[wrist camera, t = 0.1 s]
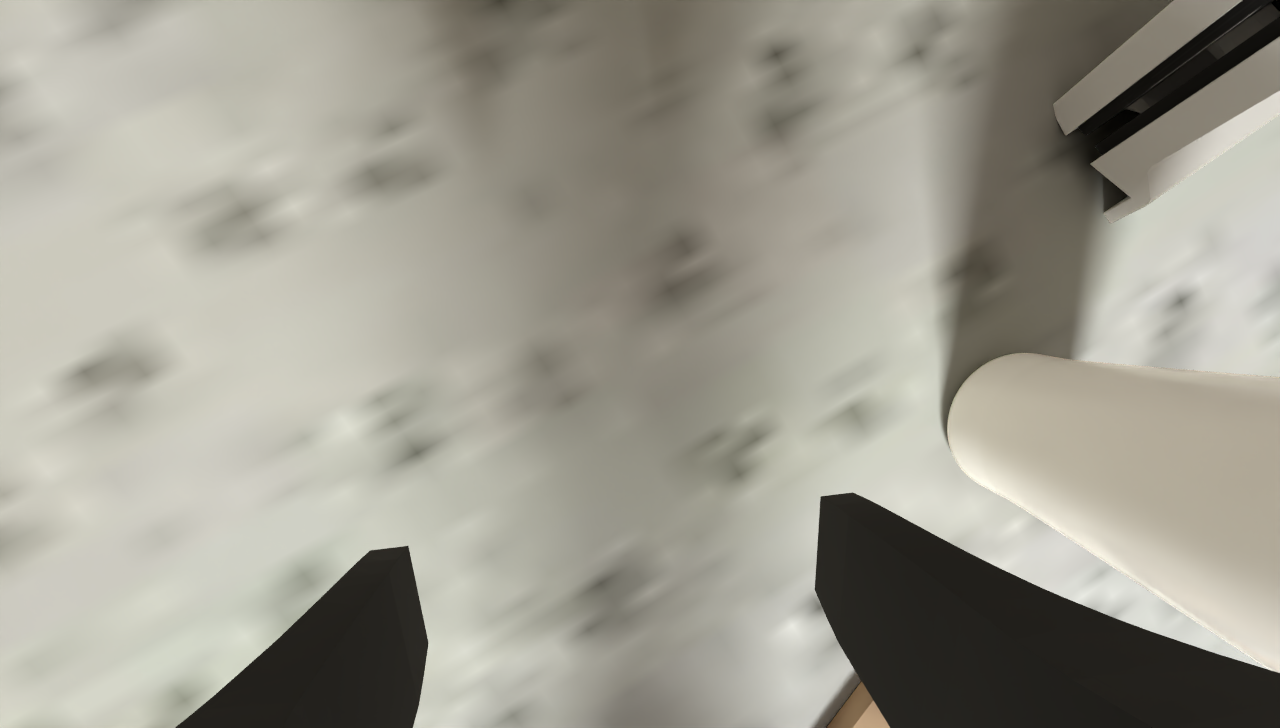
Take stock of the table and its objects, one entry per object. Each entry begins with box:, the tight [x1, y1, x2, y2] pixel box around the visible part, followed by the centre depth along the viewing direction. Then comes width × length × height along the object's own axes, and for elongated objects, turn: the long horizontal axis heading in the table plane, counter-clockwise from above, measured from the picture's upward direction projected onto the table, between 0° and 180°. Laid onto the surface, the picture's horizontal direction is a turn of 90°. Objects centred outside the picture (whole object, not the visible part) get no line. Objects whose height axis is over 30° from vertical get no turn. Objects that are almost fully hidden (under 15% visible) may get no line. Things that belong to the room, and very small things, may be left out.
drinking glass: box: [947, 353, 1280, 673], centre depth 15 cm, size 7×7×15 cm
